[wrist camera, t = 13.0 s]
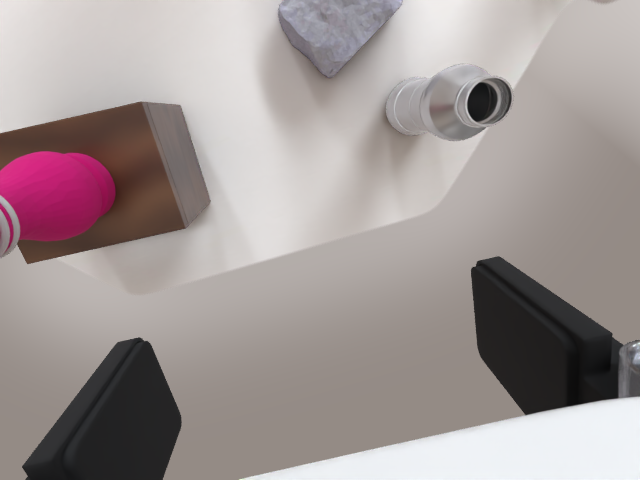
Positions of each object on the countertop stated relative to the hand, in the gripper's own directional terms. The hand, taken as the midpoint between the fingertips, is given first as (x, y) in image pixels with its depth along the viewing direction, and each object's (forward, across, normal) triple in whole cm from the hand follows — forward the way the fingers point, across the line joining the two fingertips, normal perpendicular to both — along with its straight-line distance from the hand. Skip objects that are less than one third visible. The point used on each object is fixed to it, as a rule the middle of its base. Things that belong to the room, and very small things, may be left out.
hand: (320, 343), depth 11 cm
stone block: (+40, -8, -16) cm, 43 cm away
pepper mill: (+27, +20, -4) cm, 34 cm away
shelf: (+39, +20, -4) cm, 44 cm away
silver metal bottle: (+40, -15, -4) cm, 42 cm away
